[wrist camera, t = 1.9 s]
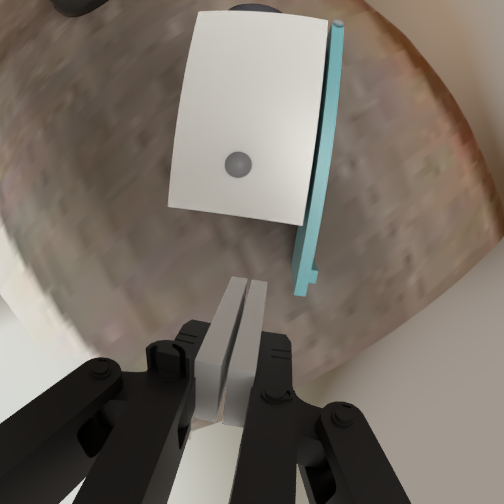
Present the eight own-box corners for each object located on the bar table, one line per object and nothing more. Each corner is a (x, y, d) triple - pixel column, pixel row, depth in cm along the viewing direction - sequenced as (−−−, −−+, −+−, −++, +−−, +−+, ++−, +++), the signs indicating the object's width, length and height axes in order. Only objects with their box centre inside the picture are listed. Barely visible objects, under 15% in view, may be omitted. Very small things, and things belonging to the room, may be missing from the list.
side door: (321, 51, 24) (332, 18, 17) (337, 54, 24) (353, 22, 17) (291, 264, 32) (293, 294, 24) (306, 266, 31) (314, 297, 24)
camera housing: (221, 36, 25) (200, -5, 16) (318, 45, 25) (330, 4, 16) (198, 195, 31) (165, 207, 22) (296, 209, 31) (303, 227, 21)
